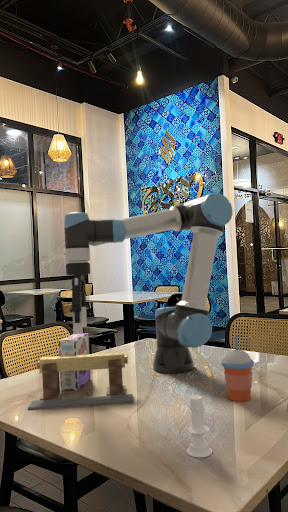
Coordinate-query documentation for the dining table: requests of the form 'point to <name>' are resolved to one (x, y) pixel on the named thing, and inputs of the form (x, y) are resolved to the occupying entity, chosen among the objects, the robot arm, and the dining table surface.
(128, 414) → the dining table surface
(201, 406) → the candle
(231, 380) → the cup with straw
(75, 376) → the candy box
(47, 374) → the post
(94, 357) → the rail
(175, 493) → the dining table surface
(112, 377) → the post
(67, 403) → the grey plank
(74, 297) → the robot arm
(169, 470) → the dining table surface
